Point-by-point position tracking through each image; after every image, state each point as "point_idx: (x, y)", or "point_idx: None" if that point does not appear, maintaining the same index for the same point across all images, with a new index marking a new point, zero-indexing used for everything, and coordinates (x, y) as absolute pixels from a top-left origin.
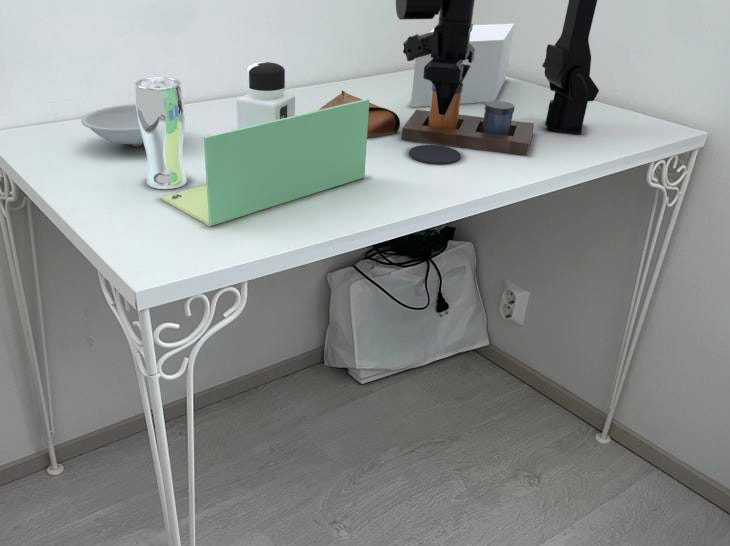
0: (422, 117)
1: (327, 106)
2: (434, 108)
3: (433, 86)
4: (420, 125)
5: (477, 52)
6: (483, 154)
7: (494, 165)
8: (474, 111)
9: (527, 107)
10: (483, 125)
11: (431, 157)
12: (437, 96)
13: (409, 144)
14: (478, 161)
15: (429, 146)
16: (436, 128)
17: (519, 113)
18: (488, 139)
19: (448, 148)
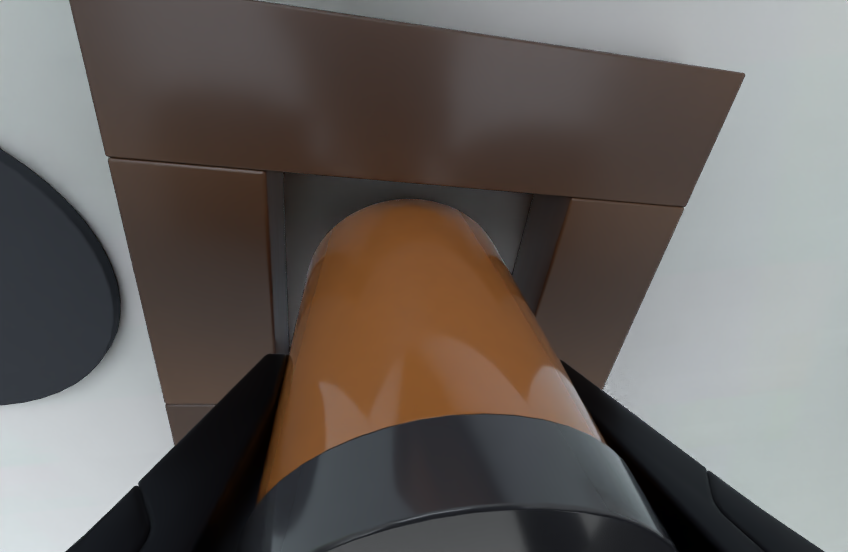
0: (502, 154)
1: None
2: (311, 330)
3: (328, 511)
4: (254, 160)
5: None
6: (150, 464)
7: (19, 509)
8: (822, 370)
9: (829, 508)
10: None
11: None
12: (132, 497)
13: (55, 72)
14: (24, 460)
15: (38, 235)
16: (236, 287)
17: (759, 499)
18: None
19: (84, 341)
